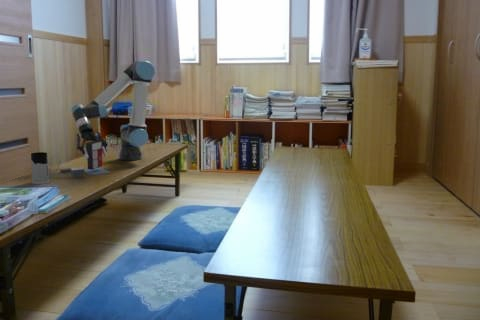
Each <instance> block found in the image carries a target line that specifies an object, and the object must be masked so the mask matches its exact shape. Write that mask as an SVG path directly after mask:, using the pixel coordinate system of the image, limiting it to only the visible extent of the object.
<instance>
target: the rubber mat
mask: <svg viewBox="0 0 480 320" xmlns="http://www.w3.org/2000/svg"><path fill="white" fill-rule="evenodd" d="M111 173H112V172H111V171H110V170H106V169H104V168H101V167H99V168H96V169H93V170H90V169H88V168H86V169H84V174H86V175H87V174H88V175H90V176H98V175H99V176H100V175H105V174H111Z"/></svg>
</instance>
